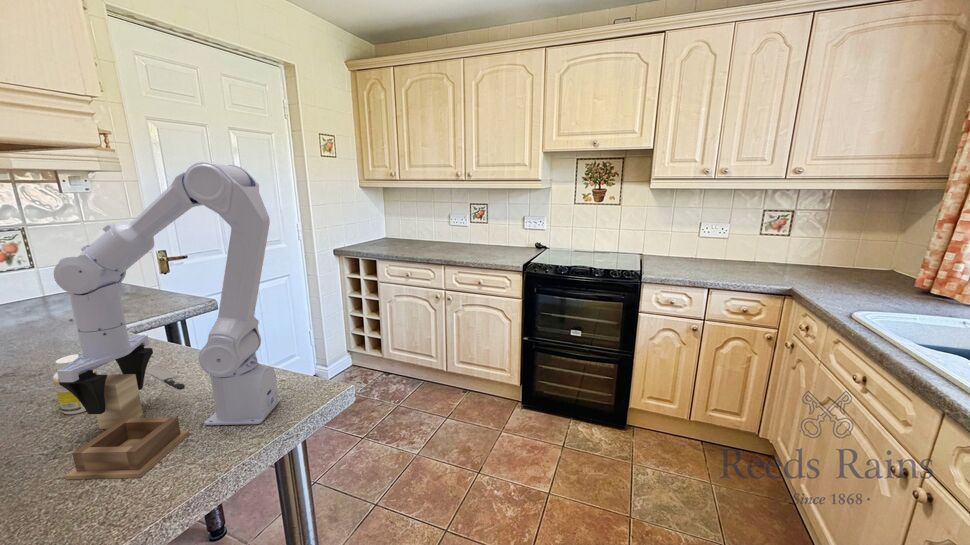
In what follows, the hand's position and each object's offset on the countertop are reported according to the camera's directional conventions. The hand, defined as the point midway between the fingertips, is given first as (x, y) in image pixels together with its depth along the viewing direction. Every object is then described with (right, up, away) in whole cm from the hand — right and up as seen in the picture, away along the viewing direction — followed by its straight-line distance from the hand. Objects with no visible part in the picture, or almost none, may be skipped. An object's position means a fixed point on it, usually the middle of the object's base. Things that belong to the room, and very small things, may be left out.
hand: (117, 400), depth 67 cm
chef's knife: (-6, -1, +17) cm, 18 cm away
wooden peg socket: (+10, -6, -7) cm, 13 cm away
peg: (0, -4, +1) cm, 4 cm away
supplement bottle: (-11, -3, +5) cm, 13 cm away
